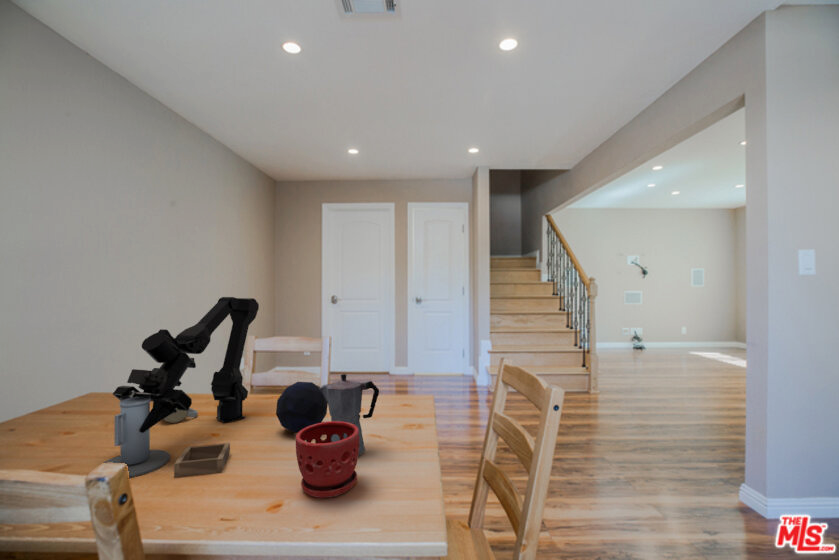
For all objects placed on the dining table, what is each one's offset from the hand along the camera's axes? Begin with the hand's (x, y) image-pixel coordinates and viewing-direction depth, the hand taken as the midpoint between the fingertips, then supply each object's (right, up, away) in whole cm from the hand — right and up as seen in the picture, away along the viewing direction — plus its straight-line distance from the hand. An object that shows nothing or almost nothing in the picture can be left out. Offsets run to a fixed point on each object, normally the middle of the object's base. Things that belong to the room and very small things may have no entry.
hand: (130, 431), depth 92 cm
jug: (0, -7, +1) cm, 7 cm away
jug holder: (+17, -9, +1) cm, 19 cm away
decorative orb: (+33, -9, +24) cm, 42 cm away
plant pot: (+48, -9, -9) cm, 50 cm away
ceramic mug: (-9, -9, +33) cm, 36 cm away
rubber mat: (0, -9, +1) cm, 9 cm away
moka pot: (+49, -9, +9) cm, 51 cm away
